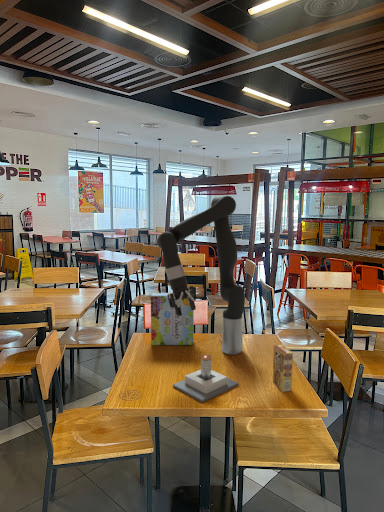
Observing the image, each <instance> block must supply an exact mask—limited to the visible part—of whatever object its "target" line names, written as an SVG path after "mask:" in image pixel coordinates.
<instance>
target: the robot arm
mask: <svg viewBox="0 0 384 512" xmlns="http://www.w3.org/2000/svg"><path fill="white" fill-rule="evenodd" d="M236 208H237V202H236V200H235V199H234V197H232V196H230V195H216V196H215V197H214V198H212V201H211V204H210V207H209V208H207V209H205V210H203V211H201V212H199V213H197V214H194V215H192V216H190V217H187V218H186V219H184V220H182V221H181V222H179V223H178V224H176V225H175V226H174V227H172V228H170V229H168V230H167V231H163V232H162V233H161V234H160V235H159V236H158V237H157V239H156V245H157V246H158V248H160V249H161V251H162V255H163V264H164V268H165V271H166V276H167V280H168V283H169V287H170V290H172V292H169V293H170V294H168V300H169V304H170V307H171V308H175V311H176V314H177V315H178V316H182V312H181V309H180V307H179V306H180V302H181V300H183V299H187V300H188V301H189V304H190V307H191V310H194V311H195V310H196V309H197V307H196V303H195V300H196V299H198V296H197V293H196V291H195V288H194V286H193V285H190V286H188V280H187V278H186V274H185V271H184V268H183V266H182V262H181V259H180V256H179V251H178V244H177V243H179V242H180V241H182V240H184V239H187V238H188V237H190V236H192V235H193V234H194V233H196V232H198V231H199V230H201V229H203V228H204V227H206V226H208V225H210V224H212V223H213V224H214V231H215V240H216V251H217V253H216V254H217V258H218V267H219V268H218V270H219V287H220V288H219V289H220V290H219V293H220V297H221V298H222V300H223V301H225V302H227V309H224V310H223V311H222V333H221V334H222V338H221V339H222V341H221V342H222V343H221V344H222V345H221V351H222V353H223V354H226V355H231V356H233V355H239V354H241V353H242V351H243V342H244V341H243V337H244V336H243V335H244V334H243V333H244V332H243V329H242V328H243V314H244V310H245V301H246V292H245V289H244V287H242V286H241V285H238V284H235V279H234V270H235V266H236V264H237V261H238V249H237V247H238V245H237V241H236V239H235V236H234V233H233V232H232V228H231V227H230V221H229V216H231V215H232V214H233V213H234V212H235V211H236ZM189 293H190V294H189ZM174 297H175V299H174ZM177 299H178V300H177ZM172 303H173V304H172Z"/></svg>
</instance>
